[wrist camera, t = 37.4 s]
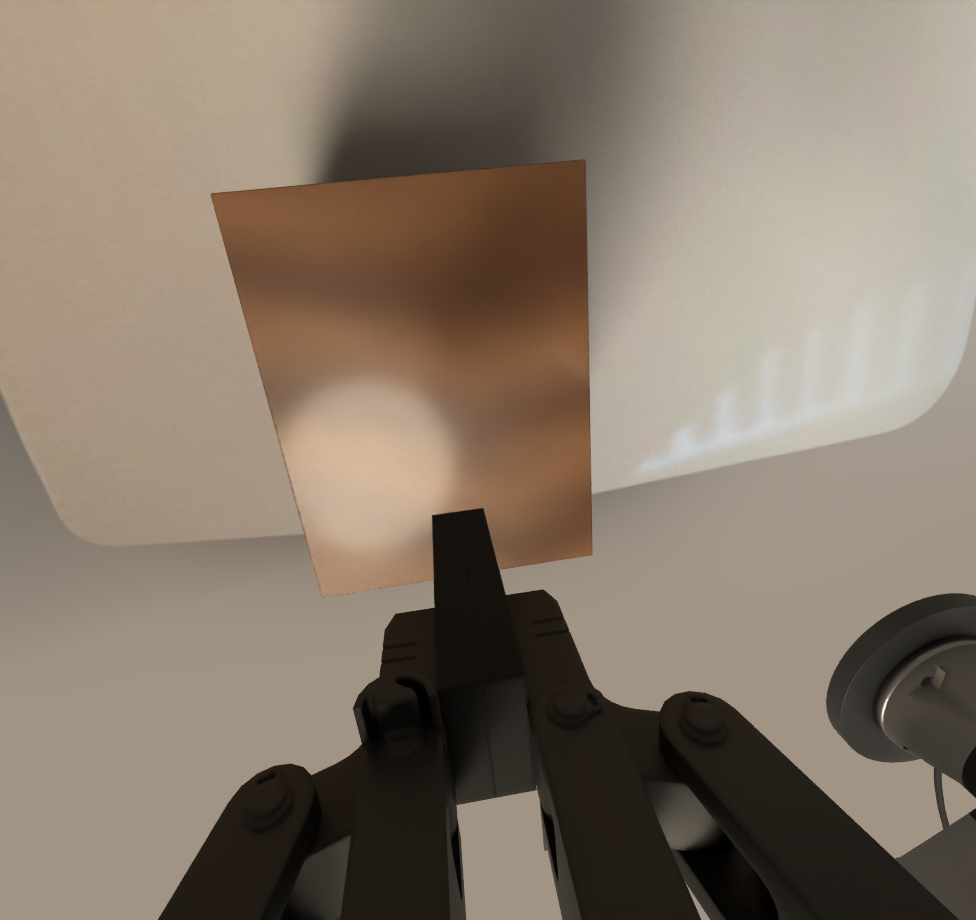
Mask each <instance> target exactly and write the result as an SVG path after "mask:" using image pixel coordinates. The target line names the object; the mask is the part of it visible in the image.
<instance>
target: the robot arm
mask: <svg viewBox="0 0 976 920" xmlns="http://www.w3.org/2000/svg"><path fill="white" fill-rule="evenodd" d="M432 536H433V570H434V600H435V601H434V603H435V608H430V609H424V610H417V611H411V612H405V613H398V614H395V615H394V617H393V618H392V620H391V622H390V623H389V624H388V626H387V627H386V629H385V633H384V642H383V651H382V660H381V661H382V665H381V668H380V677H379V678H377V679H376V680H374V681H373V682H371V683H369V684H368V685H367V686H366V687H365V688H364V690H363V691H362V692H361V693H360V694H359V695H358V697H357V700H356V702H355V705H354V707H353V710H354V714H355V718H356V722H357V726H358V730H359V734H360V738H361V742H362V745H361V746H360V747H359V748H358V749H357V750H356V751H354V752H353V753H352V754H351V755H350V756H348V757H347V758H345V759H343V760H342V761H340V762H338V763H337V764H334V765H332V766H330V767H328V768H326V769H324V770H322V771H320V772H318V773H316V774H313V775H311V774H309V773H308V772H307V770H306V769H305V768H304V767H301V766H297V765H294V764H285V765H277V766H273V767H271V768H269V769H267V770H264V771H262V772H260V773H258V774H256V775H255V776H254V777H252V778H251V779H250V780H249V781H247V782H246V783H245V784H244V785H242V786H241V788H240V789H239V790H238V791H237V792H236V794H235V795H234V796H233V797H232V799H231V800H230V801H229V803H228V804H227V806H226V808H225V809H224V811H223V813H222V814H221V816H220V818H219V819H218V821H217V823H216V824H215V826H214V828H213V829H212V831H211V832H210V834H209V836H208V837H207V839H206V841H205V843H204V844H203V846H202V848H201V849H200V851H199V852H198V854H197V856H196V857H195V859H194V861H193V862H192V864H191V866H190V867H189V869H188V871H187V872H186V874H185V876H184V877H183V879H182V881H181V882H180V884H179V886H178V887H177V889H176V891H175V892H174V894H173V896H172V898H171V899H170V901H169V902H168V904H167V906H166V907H165V909H164V911H163V912H162V914H161V916H160V917H159V919H158V920H466V911H465V896H464V880H463V865H462V851H461V837H460V831H459V825H458V820H457V806H456V803H457V805H459V804H465V803H470V802H475V801H481V800H486V799H491V798H496V797H502V796H507V795H512V794H518V793H524V792H529V791H534V790H538V794H539V798H540V806H541V818H542V829H543V841H544V850H548V853H549V858H550V863H551V868H552V872H553V877H554V882H555V886H556V891H557V896H558V900H559V905H560V910H561V914H562V919H563V920H701V918H700V916H699V914H698V911H697V909H696V907H695V904H694V902H693V900H692V897H691V895H690V893H689V890H688V888H687V886H686V884H687V885H688V887H689V888H690V890H691V891H692V893H693V894H694V896H695V897H696V899H697V900H698V902H699V903H700V905H701V906H702V908H703V909H704V911H705V912H706V914H707V915H708V917H709V918H710V920H976V809H974V810H973V811H971V812H970V813H969V814H967V815H965V816H964V817H962V818H961V819H959V820H958V821H956V822H954V823H953V824H952V825H950V826H949V823H948V819H947V815H946V811H945V805H944V798H943V791H942V778H941V776H942V773H944V774H946V775H947V776H949V777H951V778H952V779H954V780H956V781H957V782H959V783H960V784H961V785H962V786H963V787H964V788H965V789H967V790H968V791H969V792H970V793H971V794H972V795H973V796H974V797H975V798H976V637H974V636H966V635H960V636H951V637H946V638H942V639H939V640H936V641H933V642H931V643H929V644H926V645H924V646H922V647H921V648H919V649H917V650H915V651H914V652H912V653H911V654H909V655H908V656H907V657H905V658H904V659H903V660H902V661H901V662H899V663H898V664H897V665H896V666H895V667H894V668H893V669H892V670H891V672H890V673H889V674H888V675H887V676H886V678H885V679H884V681H883V682H882V684H881V685H880V687H879V689H878V691H877V694H876V696H875V700H874V704H873V716H874V720H875V723H876V725H877V726H878V728H879V729H880V730H881V731H882V732H883V733H884V734H885V735H886V736H887V737H888V738H889V739H890V740H891V741H892V742H894V743H895V744H896V745H898V746H899V747H900V748H902V749H903V750H905V751H907V752H909V753H911V754H914V755H917V756H919V757H920V758H921V759H923V760H924V761H925V762H927V763H929V764H930V765H931V766H933V767H934V785H935V792H936V799H937V805H938V810H939V814H940V818H941V821H942V825H943V830H942V831H941V832H939V833H937V834H936V835H934V836H933V837H931V838H930V839H928V840H927V841H925V842H923V843H922V844H920V845H919V846H917V847H915V848H914V849H912V850H911V851H909V852H908V853H906V854H905V855H903V856H902V857H898V858H896V859H894V858H893V857H892V856H891V855H890V854H889V853H888V852H887V851H886V850H885V849H884V848H882V847H881V846H880V845H879V844H878V843H877V842H876V841H875V840H874V839H873V838H872V837H871V836H870V835H869V834H868V833H867V832H865V831H864V830H863V829H862V828H861V827H860V826H859V825H858V824H857V823H856V822H855V821H854V820H853V819H852V818H851V817H850V816H848V815H847V814H846V813H845V812H844V811H843V810H842V809H841V808H840V807H839V806H838V805H837V804H836V803H835V802H834V801H833V800H832V799H830V798H829V797H828V796H827V795H826V794H825V793H824V792H823V791H822V790H821V789H820V788H819V787H818V786H817V785H815V783H813V782H812V781H811V780H810V779H809V778H808V777H807V776H806V775H805V774H804V773H803V772H802V771H801V770H800V769H798V767H796V766H795V765H794V764H793V763H792V762H791V761H790V760H789V759H788V758H787V757H786V756H785V755H784V754H783V753H782V752H781V751H779V750H778V749H777V748H776V747H775V746H774V745H773V744H772V743H771V742H770V741H769V740H768V739H767V738H766V737H765V736H764V735H762V734H761V733H760V732H759V731H758V730H757V729H756V728H755V727H754V726H753V725H752V724H751V723H750V722H749V721H748V720H746V719H745V718H744V717H743V716H742V715H741V714H740V713H739V712H738V711H737V710H736V709H735V708H733V707H732V706H730V705H729V704H728V703H726V702H725V701H723V700H722V699H720V698H717V697H715V696H712V695H709V694H707V693H702V692H701V693H700V692H691V691H688V692H683V693H678V694H675V695H673V696H672V697H670V698H669V699H667V700H666V701H665V702H664V704H663V706H662V708H661V710H660V712H659V711H649V710H640V709H633V708H628V707H623V706H620V705H618V704H616V703H613V702H611V701H609V700H608V699H606V698H605V697H604V696H603V695H602V693H601V692H600V691H598V690H597V689H595V688H594V687H593V685H592V683H591V681H590V680H589V677H588V675H587V672H586V670H585V668H584V665H583V663H582V661H581V658H580V655H579V653H578V651H577V648H576V646H575V643H574V641H573V638H572V636H571V633H570V632H569V629H568V626H567V624H566V621H565V619H564V617H563V614H562V612H561V609H560V607H559V605H558V602H557V601H556V600H555V599H554V598H553V597H552V596H551V595H549V594H548V593H547V592H546V591H545V590H537V591H531V592H525V593H517V594H511V595H505V591H504V587H503V583H502V579H501V575H500V571H499V567H498V563H497V559H496V555H495V551H494V547H493V544H492V540H491V536H490V532H489V528H488V524H487V520H486V516H485V512H484V508H479V509H472V510H465V511H457V512H450V513H443V514H436V515H432ZM536 785H537V789H536ZM685 882H686V883H685Z"/></svg>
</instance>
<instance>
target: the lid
mask: <svg viewBox="0 0 976 920" xmlns="http://www.w3.org/2000/svg"><path fill="white" fill-rule="evenodd" d="M211 198H212V202H213V205H214V209H215V213H216V216H217V220H218V223H219V227H220V231H221V234H222V238H223V241H224V245H225V249H226V252H227V256H228V259H229V263H230V267H231V270H232V274H233V277H234V281H235V285H236V288H237V292H238V296H239V299H240V303H241V306H242V310H243V314H244V317H245V321H246V324H247V328H248V332H249V335H250V339H251V342H252V346H253V350H254V353H255V357H256V361H257V364H258V368H259V371H260V375H261V379H262V382H263V386H264V389H265V393H266V397H267V400H268V404H269V407H270V411H271V415H272V418H273V422H274V425H275V429H276V433H277V436H278V440H279V444H280V447H281V451H282V454H283V458H284V462H285V465H286V469H287V472H288V476H289V480H290V483H291V487H292V490H293V494H294V498H295V501H296V505H297V508H298V512H299V516H300V519H301V523H302V527H303V530H304V534H305V537H306V541H307V544H308V548H309V552H310V555H311V559H312V563H313V566H314V570H315V573H316V577H317V581H318V584H319V588H320V591H321V595H322V597H330V596H336V595H343V594H349V593H355V592H362V591H368V590H374V589H380V588H386V587H393V586H399V585H406V584H412V583H418V582H424V581H431V580H434V570H433V536H432V515H436V514H443V513H450V512H457V511H465V510H472V509H479V508H484V512H485V516H486V520H487V524H488V528H489V532H490V536H491V540H492V544H493V547H494V551H495V555H496V559H497V563H498V567H499V570H501V569H507V568H513V567H520V566H525V565H532V564H539V563H545V562H551V561H557V560H564V559H570V558H577V557H583V556H589V555H592V510H591V509H592V507H591V506H592V504H591V445H590V387H589V329H588V271H587V213H586V161H585V160H573V161H562V162H551V163H540V164H529V165H518V166H507V167H496V168H485V169H474V170H463V171H452V172H441V173H431V174H420V175H409V176H398V177H387V178H376V179H365V180H354V181H343V182H332V183H321V184H310V185H299V186H288V187H277V188H266V189H255V190H244V191H233V192H222V193H211Z"/></svg>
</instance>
